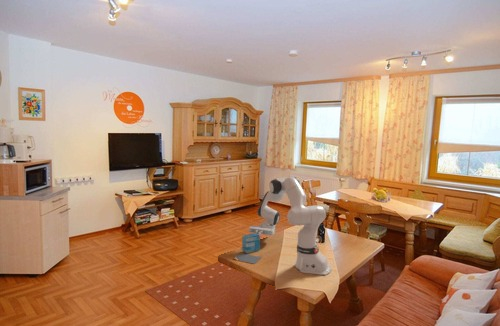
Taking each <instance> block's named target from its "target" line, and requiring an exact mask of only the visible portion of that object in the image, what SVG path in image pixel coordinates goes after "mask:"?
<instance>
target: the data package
mask: <svg viewBox="0 0 500 326" xmlns="http://www.w3.org/2000/svg"><path fill="white" fill-rule="evenodd" d="M241 239H242V240H241V241H242V243H241V245H242V251H243V252H244V254H250V253H255V252H258V251H260V250H261V241H260V239H261V236H260V235H258V234H256V233H249V234H244V235H242V238H241Z"/></svg>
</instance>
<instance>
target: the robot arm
mask: <svg viewBox="0 0 500 326" xmlns="http://www.w3.org/2000/svg"><path fill="white" fill-rule="evenodd" d="M285 194H286V196H287V199H288V200H289V203H290V209H289V210H288V212H287V215H286V218H287V221H288V224H290V225H291V226H303V227H302V228H301V229H300V230H299V231H298V232H297V245H296V252H297V256H296V261H295V263H294V265H295V266H294V267H295V268H296V269H298V270H299V272H300V273H304V274H312V275H320V276H327V275H328V274H330V273H331V272H332V264H329V262H328V258H327V256H325V255H323V254H322V253H321V252H320V251H319V250H320V246H317V243H316V242H317V241H316V240H317V239H316V238H317V233H318V232H317V231H318V229H319V227H320V225H321V223H322V222H324V221H325V219H326V217H327V212H326V209H325V208H324V207H323V206H321V205H308V206H305V205H304V204H305V203H306V201H307V194H306V193H305V190H304V189H303V187H302V186H301V183H300V180H299V178H297V177H295V176H289V177H277V178H275V179H272V180H270V182H269V191H266V192H265V194H264V195H263V198H262V200H261V203H260V204H259V207H258V208H257V215H258V216H259V217H261V218H263V219H265V220H264V221H263V222H261V223H260V224H259V225H256V224H255V225H251V226H249V227H248V232H249V233H251V234H254V233H256V234H258V235H259V236H260V235H267V236H274V235H275V233H276V225H278V223H279V221H280V217H281V216H280V215H281V214H280V212H279V211H277V210H276V209H273V208H272V207H269V206H268V205H267V204H268V203H269V202H274V203H277V202H281V201H282V200H283V199H284V198H285Z"/></svg>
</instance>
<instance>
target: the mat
mask: <svg viewBox="0 0 500 326" xmlns="http://www.w3.org/2000/svg"><path fill="white" fill-rule="evenodd" d="M234 257H236V258H237V259H238V261H237V262H243V263H248V264H252V265H256V264H257V263H258V261H260V260H261V259H262V256H257V255H252V254H249V253H242V252H239V253H238V254H236V255H235V256H234Z"/></svg>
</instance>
